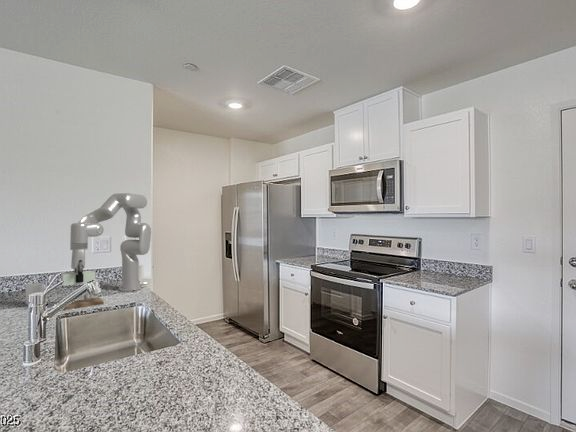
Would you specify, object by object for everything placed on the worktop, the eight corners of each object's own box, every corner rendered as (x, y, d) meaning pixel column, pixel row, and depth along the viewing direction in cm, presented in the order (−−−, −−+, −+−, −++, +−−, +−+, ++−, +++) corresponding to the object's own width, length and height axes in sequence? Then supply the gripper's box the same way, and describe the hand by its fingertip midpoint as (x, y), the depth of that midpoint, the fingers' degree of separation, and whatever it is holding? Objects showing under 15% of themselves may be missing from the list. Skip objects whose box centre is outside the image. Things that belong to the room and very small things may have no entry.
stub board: (98, 299, 175) (98, 290, 175) (103, 303, 166) (103, 294, 166) (53, 306, 162) (53, 296, 162) (56, 311, 153) (56, 300, 153)
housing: (92, 280, 171) (92, 270, 171) (95, 282, 166) (95, 271, 166) (61, 284, 162) (61, 273, 162) (62, 285, 157) (62, 274, 157)
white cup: (35, 305, 165) (35, 285, 165) (21, 305, 165) (21, 286, 165) (47, 301, 173) (47, 283, 173) (33, 301, 173) (33, 283, 173)
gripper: (68, 246, 169) (67, 280, 168) (72, 247, 156) (72, 284, 155) (84, 245, 173) (84, 278, 173) (90, 247, 160) (90, 282, 160)
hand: (78, 281), depth 164 cm, fingers closed on housing, 6 cm apart
